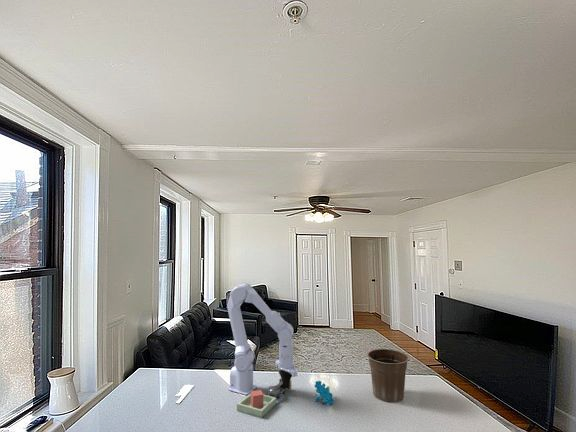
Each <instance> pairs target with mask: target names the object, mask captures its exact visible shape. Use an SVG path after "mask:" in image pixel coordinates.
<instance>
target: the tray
mask: <svg viewBox="0 0 576 432" xmlns="http://www.w3.org/2000/svg"><path fill="white" fill-rule="evenodd" d="M267 395H268V394H267ZM267 395H266V394H263V408H261V409H257V408H254V407H251V392H250V393H249V394H248V395H246V396H245V397H244V398H242V400H240V401H239V402H238V403H236V411H237V412H240V413H243V414H246V415H250V416H253V417H256V418H260V419H262V418H264V417H265V416H266V415H267V414H268V413H269V412H270V411H271V410H272V409H273V408H275V406H277V404H276V398H275V397H271V396H267Z"/></svg>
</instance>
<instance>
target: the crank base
mask: <svg viewBox="0 0 576 432" xmlns="http://www.w3.org/2000/svg"><path fill="white" fill-rule="evenodd" d="M283 392H284V390H283V391H282V392H281V393H280V398H279V399H276V405H278V404H279V403H280V402H281V401H282V400H284V398H286V395H284V394H282V393H283ZM267 396H269V393H268V394H267Z"/></svg>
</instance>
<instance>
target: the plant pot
mask: <svg viewBox="0 0 576 432" xmlns="http://www.w3.org/2000/svg"><path fill="white" fill-rule="evenodd" d="M366 354H367V358H368V362H369V366H370V372H371V384H372V385H371V386H372V393H373V396H374V398H377V399H378V400H380V401H382V402H383V401H386V402H387V403H398V402H401V401H403V399H404V397H405V383H406V370H407V369H408V361H409V360H410V359H409V356H408V355H407V354H406V353H405V352H404V353H403V352H401V351H398V350H395V349H390V348H377V349H371V350H370V351H368V352H367V353H366Z"/></svg>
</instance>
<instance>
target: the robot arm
mask: <svg viewBox="0 0 576 432" xmlns="http://www.w3.org/2000/svg"><path fill="white" fill-rule="evenodd" d="M243 303H249V304H253V305H254V306H255V307H256V308H257V309H258V310H259V311H260V312H261V313H262V314H263V316H265V322H266V323H267V324H268V325H269V326H270V328H272V329H273V330H274V332H276V333H277V338H278V340H279V343H278V346H279V347H278V356H279V357H278V359H276V360H275V366H277V367H278V369H279V371H278V374H279V376H280V379H282V382H283V388H284V389H285V390H289V389H288V388H289V386H290V380H291V381H292V377H293V378H295V377H298V370H296V367H295V366H296V364H295V363H294V344H293V342H294V341H293V340H294V339H293V335H294V327H293V326H292V324H291V323H288V321H286V320H285V319H284V318H283V317H282V316H281V313H280V312H279V311H278V312H277V311H276V310H272V309H271V308H270V307H269V305H268V304H266V302H265V301H264V300H263V298H262V297H261V296H260V295H259V294H258V293H257V291H256V290H255V289H254V288H253V287H252V286H251V284H250V283H247V282H242V283H240V284H238V285H236V286H235V287H233V289H232V290H231V291H230V292H229V298H228V301H227V304H226V306H227V307H226V308H227V312H228V313H227V314H228V317H229V321H230V326H231V330H232V336H233V340H234V344H235V351H234V366H232V368H230V369H231V370H230V373H229V388H228V391H231V392H235V393H238V394H242V395H244V396H245V395H246V396H248V395H249V394H250V393H251V391H255V390H256V389H257V388H258V386H257V385H254V365H253V361H254V360H255V357H256V355H255V351H254V350H253V349H252V346H251V344H250V343H249V342H248V336H247V333H246V328H245V324H244V320H243V315H242V310H241V305H242V304H243Z"/></svg>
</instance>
